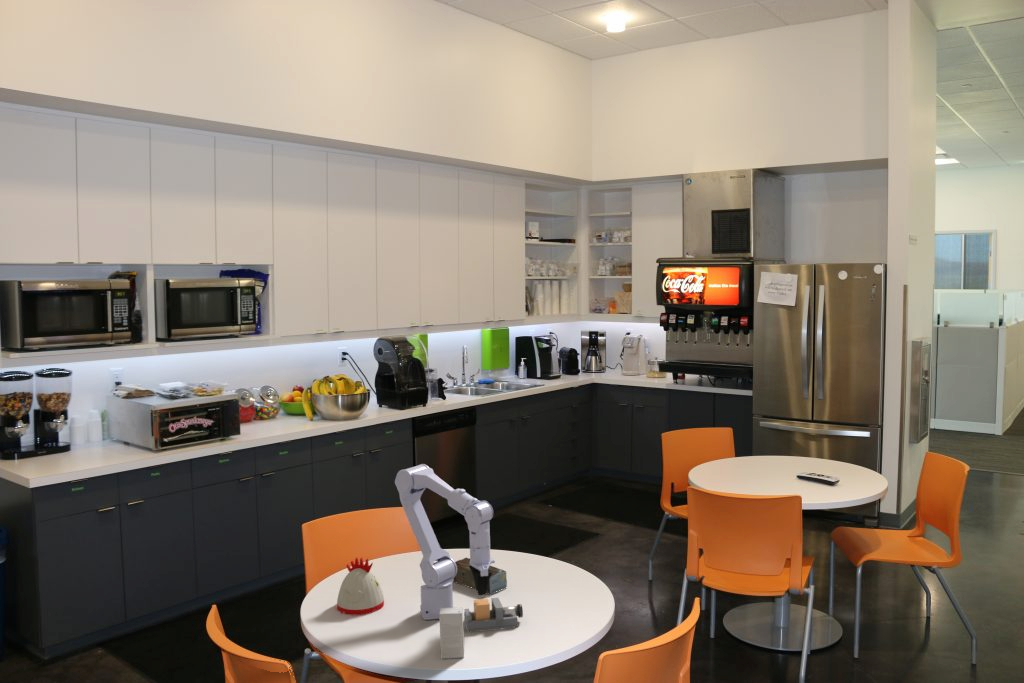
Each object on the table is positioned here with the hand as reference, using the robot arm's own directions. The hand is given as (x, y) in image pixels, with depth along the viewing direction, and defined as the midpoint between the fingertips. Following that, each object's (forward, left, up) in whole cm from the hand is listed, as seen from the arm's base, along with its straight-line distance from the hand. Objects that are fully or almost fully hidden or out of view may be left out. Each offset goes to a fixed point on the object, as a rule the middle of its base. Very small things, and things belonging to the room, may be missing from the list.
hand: (481, 592), depth 238 cm
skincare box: (-11, -17, -10) cm, 22 cm away
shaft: (+8, 0, -8) cm, 11 cm away
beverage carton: (+4, +32, -10) cm, 33 cm away
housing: (+2, 0, -9) cm, 10 cm away
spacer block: (0, 0, -9) cm, 9 cm away
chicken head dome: (-34, +23, -10) cm, 42 cm away
